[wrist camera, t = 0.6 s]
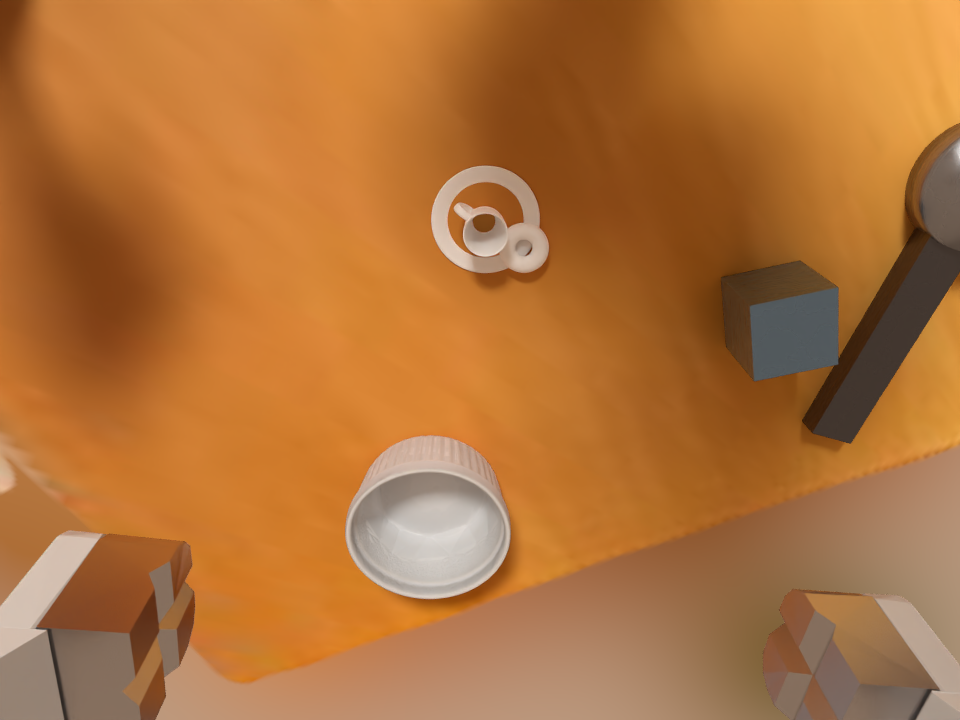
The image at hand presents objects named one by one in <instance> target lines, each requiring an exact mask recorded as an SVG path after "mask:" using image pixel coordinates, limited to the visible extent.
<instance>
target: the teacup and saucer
mask: <svg viewBox="0 0 960 720" xmlns="http://www.w3.org/2000/svg"><path fill="white" fill-rule="evenodd" d="M480 182H491V183H496V184H499V185H502V186H504V187H506V188H507V189H509V190H510V191H511V192H512V193H513V194H514V195H515V196H516V198H517V199H518V201H519V202H520V204H521V207H522V210H523V216H524V223H517V224H514V225H512V226H510V227H509V228H507V225H506V223H505V221H504V219H503V217H502V215H501V214H500V213H499V212H498V211H497V210H496V209H494V208H492V207H488V206H481V207H478V208H476V209H473V208H472V207H470V206H469V205H467V204H465V203H461V202H459V203H457V204H456V205H455V206H454V211H455V212H456V213H457V214H458V215H459V216H460V217H461V218H463V219H464V220H466V221H465V225H464V229H463V240H464V243H465V245H466V247H467V248H468V249H469V250H470V251H471V252H472V253H474V254H475V255H478V256H482V257H477V256H473V255H470V254H468V253H466V252H465V251H463V250H462V249H461V248H460V247H458V246H457V244H456V243H455V242H454V240H453V239H452V237H451V235H450V232H449V229H448V222H447V218H448V211H449V208H450V205H451V203H452V201H453V200H454V198H455V197H456V196H457V194H458V193H459V192H461V191H462V190H463V189H465V188H466V187H468V186H470V185H472V184H476V183H480ZM480 214H491V215H494V217H495V225H494V227H493V229H492V230H490V231H489V232H479V231H478V230H476V229H475V227H474V226H473V218H474V217H475V216H477V215H480ZM431 225H432V231H433V235H434V238H435V241H436V243H437V245H438V246H439V248H440V250H441V251H442V252H443V254H444V255H445V256H446V257H447V258H448V259H449V260H450V261H452V262H453V263H454V264H456V265H457V266H459V267H461V268H463V269H466V270H469V271H472V272H477V273H493V272H498V271H502V270H505V269H507V268H510V269H511V270H513V271H516V272H520V273H528V272H532V271H534V270H536V269H538V268H539V267H540V266H542V265H543V263H544V262H545V261H546V259H547V256H548V253H549V243H548V239H547V237H546V235H545V233H544V232H543V231H542V230H541V229H540V228H539V225H540V212H539V207H538V203H537V200H536V198H535V196H534V194H533V192H532V190H531V189H530V187H529V186H528V185H527V184H526V183H525V181H523V180H522V179H521V178H520V177H519V176H517V175H516V174H514V173H513V172H511V171H509V170H506V169H504V168H501V167H496V166H476V167H471V168H468V169H466V170H463V171H461V172H459V173H457V174H456V175H454V176H453V177H452V178H451V179H449V180H448V181H447V182H446V183H445V184H444V186H443V187H442V188H441V190H440V191H439V193H438V195H437V197H436V199H435V201H434V204H433V208H432V215H431ZM531 248H532V251H531V253H530V254H529V255H527V256H525V255H526V254H527V253H528V252H529V251H530V249H531ZM497 253H500V255H497V256H494V257H489V256H493V255H496V254H497Z"/></svg>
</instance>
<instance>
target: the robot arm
mask: <svg viewBox="0 0 960 720" xmlns="http://www.w3.org/2000/svg"><path fill="white" fill-rule="evenodd" d="M191 567H192V558H191V549H190V545H189V544H187V543H186V542H185V541H176V540H166V539H156V538H146V537H136V536H127V535H117V534H107V535H106V534H99V533H89V532H79V531H70V530H69V531H67V532H65V533H63V534H61V535H59V536H57V537H56V538H55V540H54V541H53V542H52V544H50V546H49V547H48V548H47V549H46V551H45V552H44V553H43V554H42V556H41V557H40V558H39V559H38V561H37V562H36V563H35V564H34V565H33V567H32V568H31V569H30V570H29V572H28V573H27V574H26V575H25V577H24V578H23V579H22V580H21V581H20V583H19V584H18V585H17V586H16V588H15V589H14V590H13V591H12V593H11V594H10V595H9V596H8V597H7V599H6V600H5V601H4V602H3V604H2V605H1V606H0V720H155V719H156V717H157V715H158V713H159V710H160V708H161V706H162V704H163V702H164V699H165V697H166V692H165V681H164V677H165V676H167V675H168V674H169V673H171V672H172V671H173V670H175V669H176V668H178V667H179V666H180V664H181V661H182V659H183V657H184V654H185V651H186V650H187V647H188V644H189V640H190V636H191V632H192V628H193V624H194V614H195V595H194V591H193V590H192V589H191V588H190V587H189V585H188V584H187V583H186V582H185V579H186V577H187V575H188V573H189V571H190V569H191ZM779 611H780V613H781V615H782V617H783V619H784V622H785V623H784V624H783V625H781V626H780V627H779V628H777V629H776V630H774V631H773V632H772V633H770V634H769V637H768V640H767V643H766V646H765V648H764V652H763V674H764V678H765V683H766V687H767V690H768V692H769V695H770V696H771V699H772V701H773V704H774V706H775V707H777V708H778V709H779V710H780V711H781V712H782V713H783V714H785V715H786V716H787V717H788V718H789V719H790V720H960V665H959V664H958V662H957V661H956V660H955V659H954V657H953V656H952V655H951V654H950V652H949V651H948V650H947V648H946V647H945V646H944V645H943V643H942V642H941V641H940V640H939V638H938V637H937V636H936V635H935V633H934V632H933V631H932V630H931V628H930V627H929V626H928V624H927V623H926V622H925V620H924V619H923V618H922V617H921V615H920V614H919V613H918V612H917V610H916V609H915V608H914V606H913V605H912V604H911V603H910V602H909V601H907V600H906V599H904V598H903V597H901V596H899V595H882V594H865V593H864V594H856V593H841V592H828V591H813V590H800V589H792V590H791V591H790V592H789V593H788V594H787V595H786V596H785V597H784V600H783V602H782V604H781V607H780V609H779Z"/></svg>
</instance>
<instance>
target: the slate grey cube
mask: <svg viewBox="0 0 960 720" xmlns="http://www.w3.org/2000/svg"><path fill="white" fill-rule="evenodd" d="M721 286H722V299H723V312H724V325H725V338H726V347H727V349H728V350H729V351H730V352H731V353H732V355H733V356H734V357H735V358H736V360H737V361H738V362H739V363H740V365H741V366H742V367H743V368H744V370H745V371H746V372H747V373H748V374H749V376H750V377H751V378H752V379H753V381H758V380H763V379H768V378H773V377H778V376H783V375H788V374H793V373H798V372H803V371H808V370H813V369H818V368H823V367H828V366H833V365H838V287H837V286H836V285H834V284H833V283H831V282H830V281H829V280H827V279H826V278H824V277H823V276H821V275H820V274H819V273H817V272H816V271H814V270H813V269H811V268H810V267H809V266H807V265H806V264H804V263H803V262H801V261H796V262H791V263H787V264H782V265H777V266H772V267H768V268H763V269H758V270H754V271H749V272H744V273H740V274H735V275H730V276H726V277H721Z"/></svg>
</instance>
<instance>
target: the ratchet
mask: <svg viewBox="0 0 960 720" xmlns="http://www.w3.org/2000/svg"><path fill="white" fill-rule="evenodd" d="M905 206H906V211H907V214H908V217H909V219H910V221H911V223H912V224H913V226H914V227H915V230H914V232H913V233H912V235H911V237H910V238H909V240H908V242H907V243H906V245H905V247H904V249H903V250H902V252H901V254H900V255H899V257H898V259H897V260H896V262H895V264H894V266H893V267H892V269H891V271H890V272H889V274H888V276H887V277H886V279H885V281H884V282H883V284H882V286H881V288H880V289H879V291H878V293H877V294H876V296H875V298H874V299H873V301H872V303H871V305H870V306H869V308H868V310H867V311H866V313H865V315H864V316H863V318H862V320H861V322H860V323H859V325H858V327H857V328H856V330H855V332H854V333H853V335H852V337H851V339H850V340H849V342H848V344H847V345H846V347H845V349H844V350H843V352H842V354H841V355H840V357H839V359H838V365H835V366H834V367H833V369H832V371H831V372H830V374H829V376H828V378H827V379H826V381H825V383H824V384H823V386H822V388H821V389H820V391H819V393H818V395H817V396H816V398H815V400H814V401H813V403H812V405H811V406H810V408H809V410H808V411H807V413H806V415H805V417H804V418H803V420H802V421H803V423H804V424H805V425H806V426H807V427H808V429H809V430H810V431H811V432H812V433H814V434H818V435H821V436H825V437H828V438H832V439H836V440H839V441H843V442H846V443H850V444H851V442H852V441H853V439H854V438H855V436H856V435H857V433H858V431H859V430H860V428H861V427H862V425H863V423H864V422H865V420H866V419H867V417H868V416H869V414H870V412H871V411H872V409H873V408H874V406H875V405H876V403H877V401H878V400H879V398H880V397H881V395H882V394H883V392H884V390H885V389H886V387H887V386H888V384H889V382H890V381H891V379H892V378H893V376H894V375H895V373H896V371H897V370H898V368H899V367H900V365H901V364H902V362H903V360H904V359H905V357H906V356H907V354H908V352H909V351H910V349H911V348H912V346H913V345H914V343H915V341H916V340H917V338H918V337H919V335H920V334H921V332H922V330H923V329H924V327H925V326H926V324H927V323H928V321H929V319H930V318H931V316H932V315H933V313H934V311H935V310H936V308H937V307H938V305H939V304H940V302H941V300H942V299H943V297H944V296H945V294H946V293H947V291H948V289H949V288H950V286H951V285H952V283H953V281H954V280H955V278H956V277H957V275H958V274H959V272H960V123H959V124H956V125H955V126H953V127H951V128H949V129H947V130H946V131H944V132H943V133H942V134H940V135H939V136H938V137H937V138H935V139H934V140H933V141H932V142H931V143H930V144H929V145H928V146H927V147H926V148H925V149H924V151H923V152H922V153H921V155H920V156H919V157H918V159H917V161H916V162H915V164H914V166H913V168H912V170H911V172H910V175H909V178H908V181H907V185H906V190H905Z"/></svg>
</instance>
